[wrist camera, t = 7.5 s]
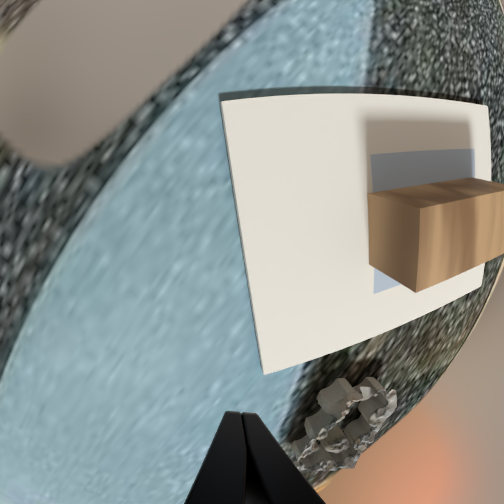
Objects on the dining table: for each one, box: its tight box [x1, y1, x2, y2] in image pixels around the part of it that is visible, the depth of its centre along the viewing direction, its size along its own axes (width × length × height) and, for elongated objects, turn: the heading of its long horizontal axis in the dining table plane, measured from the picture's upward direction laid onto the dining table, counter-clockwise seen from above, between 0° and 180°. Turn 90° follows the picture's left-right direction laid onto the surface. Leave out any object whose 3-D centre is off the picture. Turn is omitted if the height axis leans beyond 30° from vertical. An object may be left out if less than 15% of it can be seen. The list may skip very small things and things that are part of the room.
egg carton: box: [291, 377, 397, 473], centre depth 25 cm, size 11×8×4 cm
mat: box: [220, 94, 491, 375], centre depth 22 cm, size 24×18×1 cm
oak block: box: [367, 177, 504, 293], centre depth 20 cm, size 5×5×12 cm
